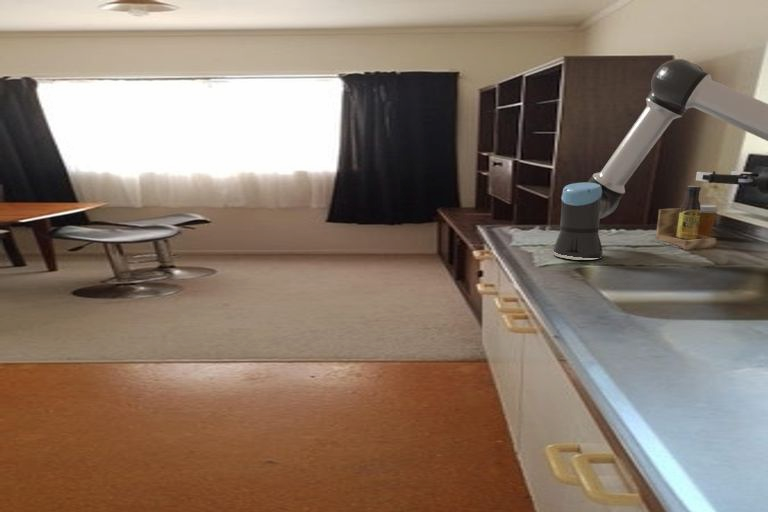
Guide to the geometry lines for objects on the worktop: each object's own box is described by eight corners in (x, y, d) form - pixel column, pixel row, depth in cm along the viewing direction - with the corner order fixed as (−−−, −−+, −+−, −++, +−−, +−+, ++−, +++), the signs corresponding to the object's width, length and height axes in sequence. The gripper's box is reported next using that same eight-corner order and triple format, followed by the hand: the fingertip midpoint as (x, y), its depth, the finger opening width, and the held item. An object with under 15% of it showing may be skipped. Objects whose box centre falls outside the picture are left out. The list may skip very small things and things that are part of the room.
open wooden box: (684, 249, 167) (689, 214, 165) (655, 241, 180) (658, 209, 177) (715, 246, 170) (720, 212, 167) (684, 239, 183) (688, 207, 180)
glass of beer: (686, 233, 194) (690, 203, 191) (715, 236, 189) (719, 204, 186) (683, 237, 187) (687, 206, 184) (713, 240, 181) (718, 207, 178)
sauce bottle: (679, 243, 172) (686, 186, 168) (672, 240, 178) (678, 185, 174) (700, 244, 171) (707, 186, 167) (692, 240, 177) (698, 185, 173)
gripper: (741, 196, 136) (680, 188, 156) (811, 194, 142) (743, 186, 162) (746, 169, 135) (684, 164, 155) (817, 167, 140) (748, 163, 160)
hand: (714, 175), depth 158 cm, fingers open, 13 cm apart
